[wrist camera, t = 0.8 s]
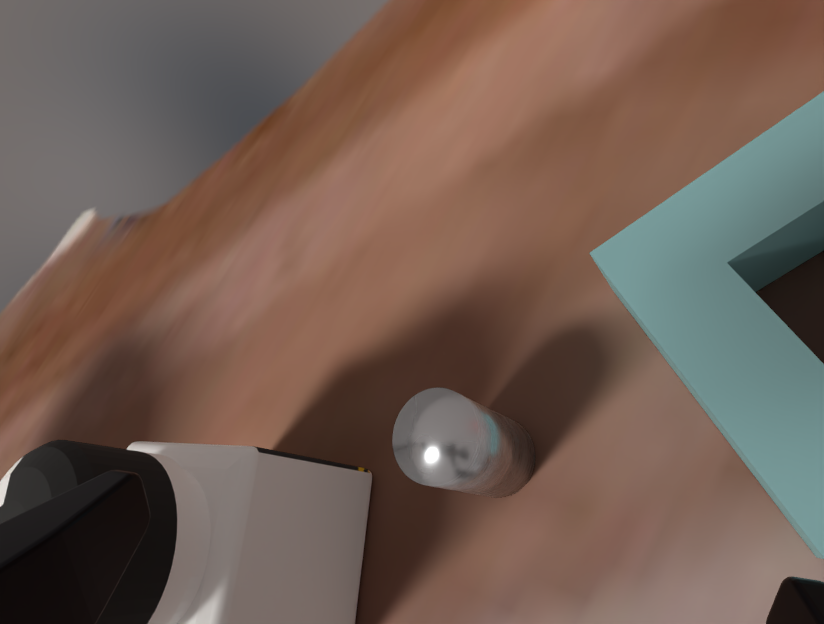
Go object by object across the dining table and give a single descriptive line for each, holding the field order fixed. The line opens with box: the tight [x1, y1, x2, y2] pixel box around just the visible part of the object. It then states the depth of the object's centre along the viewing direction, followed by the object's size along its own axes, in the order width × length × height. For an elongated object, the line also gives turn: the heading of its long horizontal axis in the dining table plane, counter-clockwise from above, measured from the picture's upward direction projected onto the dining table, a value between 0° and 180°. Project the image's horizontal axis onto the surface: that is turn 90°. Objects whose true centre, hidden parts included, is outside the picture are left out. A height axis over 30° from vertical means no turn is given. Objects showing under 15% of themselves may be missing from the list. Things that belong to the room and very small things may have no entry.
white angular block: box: [0, 440, 372, 624], centre depth 20 cm, size 7×7×12 cm
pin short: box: [392, 388, 535, 498], centre depth 19 cm, size 3×3×5 cm
